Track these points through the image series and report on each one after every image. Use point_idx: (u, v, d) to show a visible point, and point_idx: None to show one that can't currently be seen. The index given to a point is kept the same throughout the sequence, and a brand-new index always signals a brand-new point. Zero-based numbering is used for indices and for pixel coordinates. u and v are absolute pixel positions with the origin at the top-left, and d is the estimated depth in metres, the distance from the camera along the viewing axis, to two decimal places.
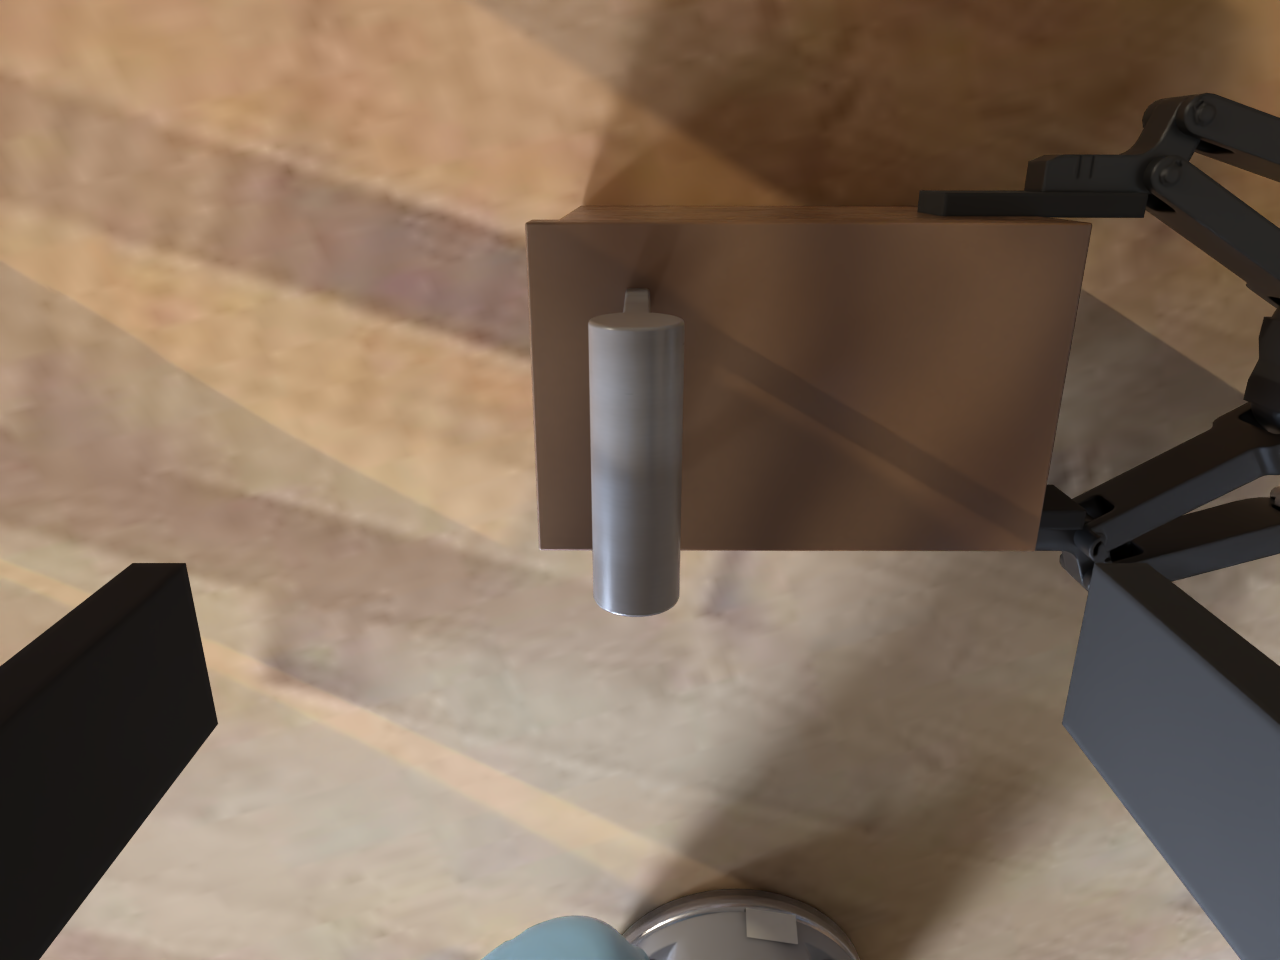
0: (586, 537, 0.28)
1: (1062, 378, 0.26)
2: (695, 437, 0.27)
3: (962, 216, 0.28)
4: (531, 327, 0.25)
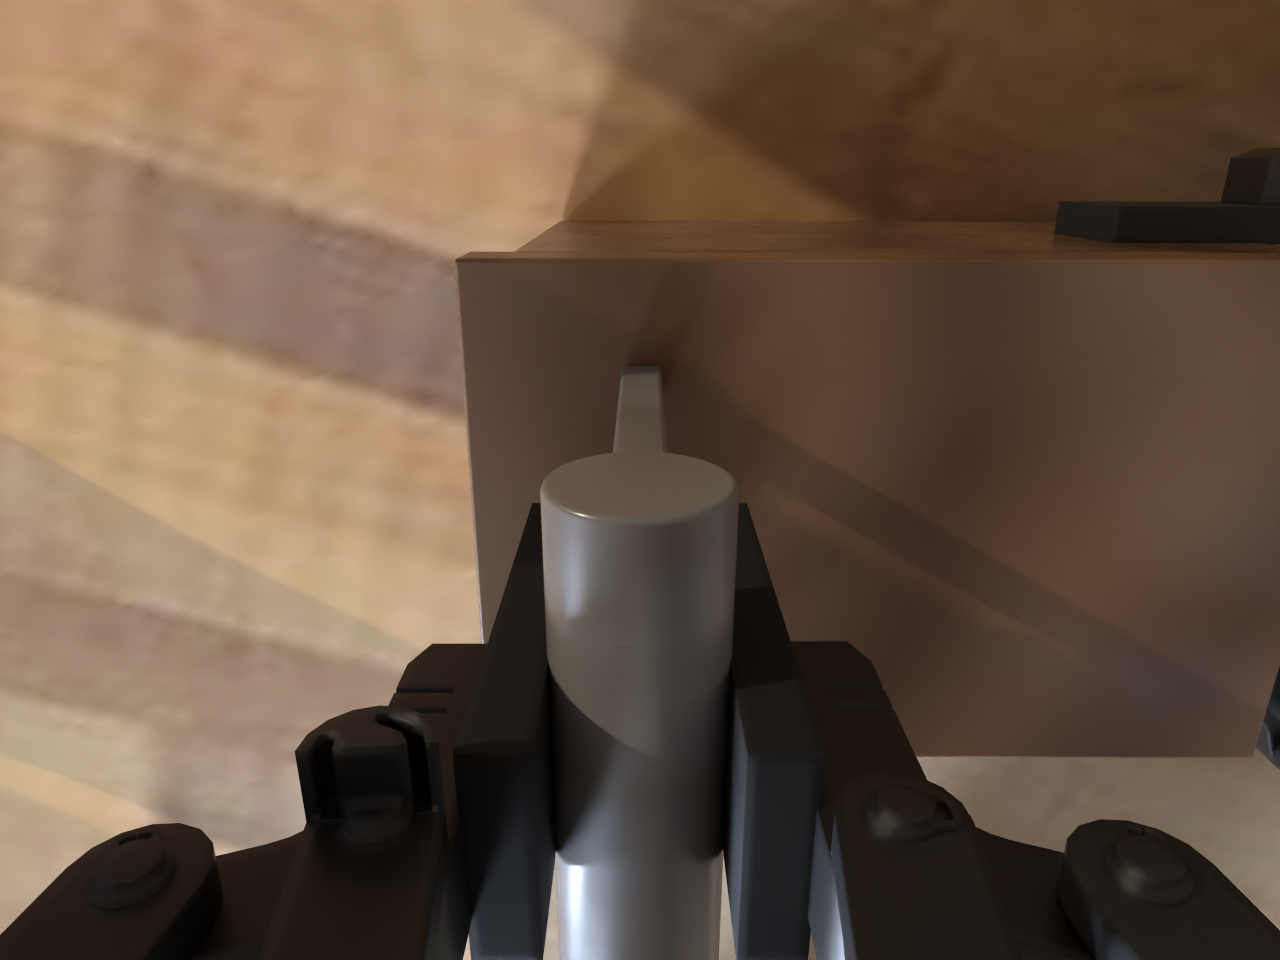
0: None
1: None
2: None
3: (1143, 243, 0.18)
4: (468, 426, 0.16)
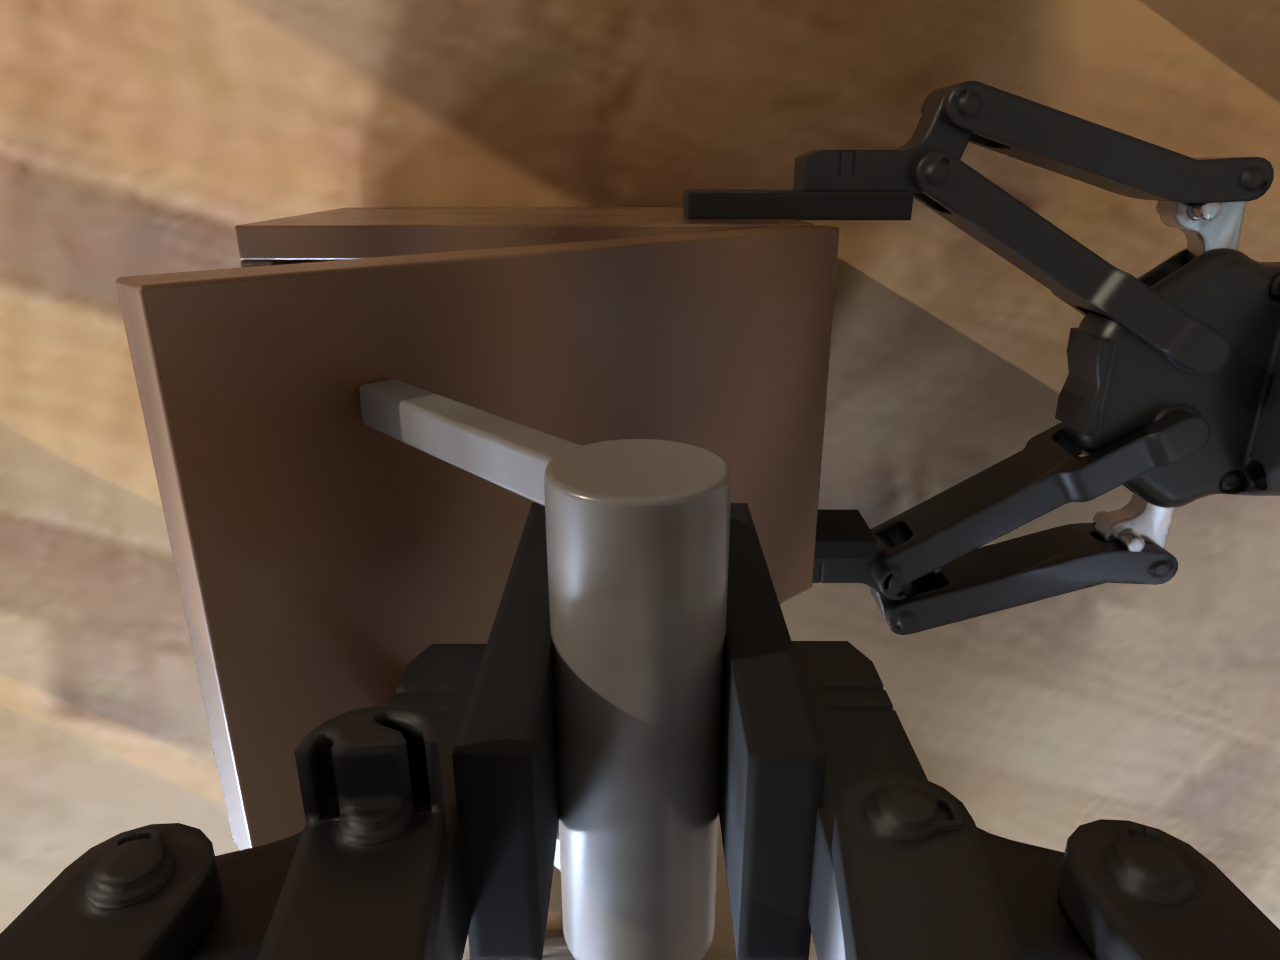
0: None
1: (825, 399, 0.23)
2: (485, 591, 0.17)
3: (712, 219, 0.25)
4: (185, 493, 0.13)
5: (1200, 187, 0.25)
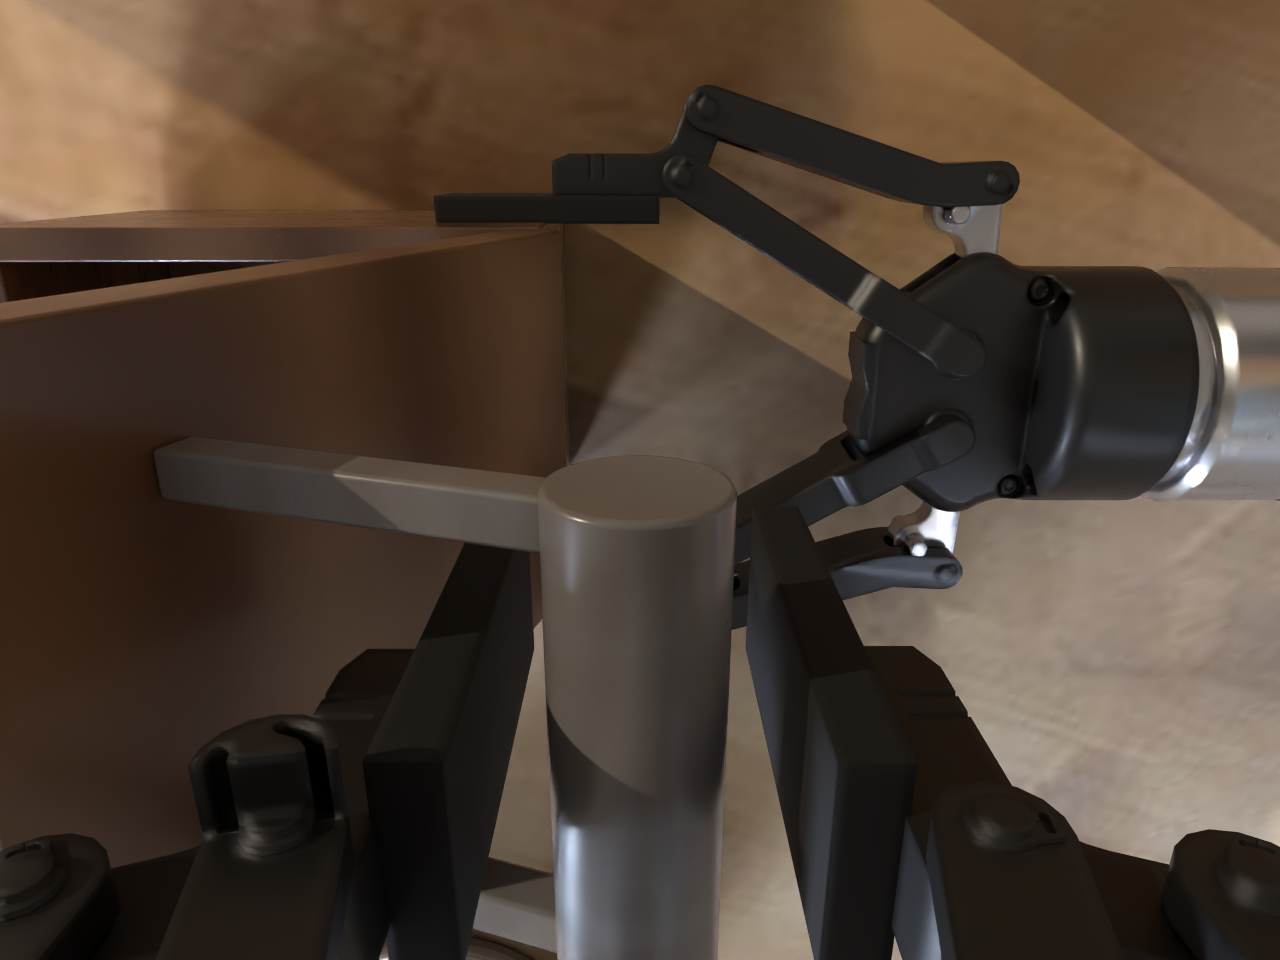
0: None
1: (564, 400, 0.23)
2: (307, 672, 0.14)
3: (459, 222, 0.25)
4: None
5: (947, 191, 0.25)
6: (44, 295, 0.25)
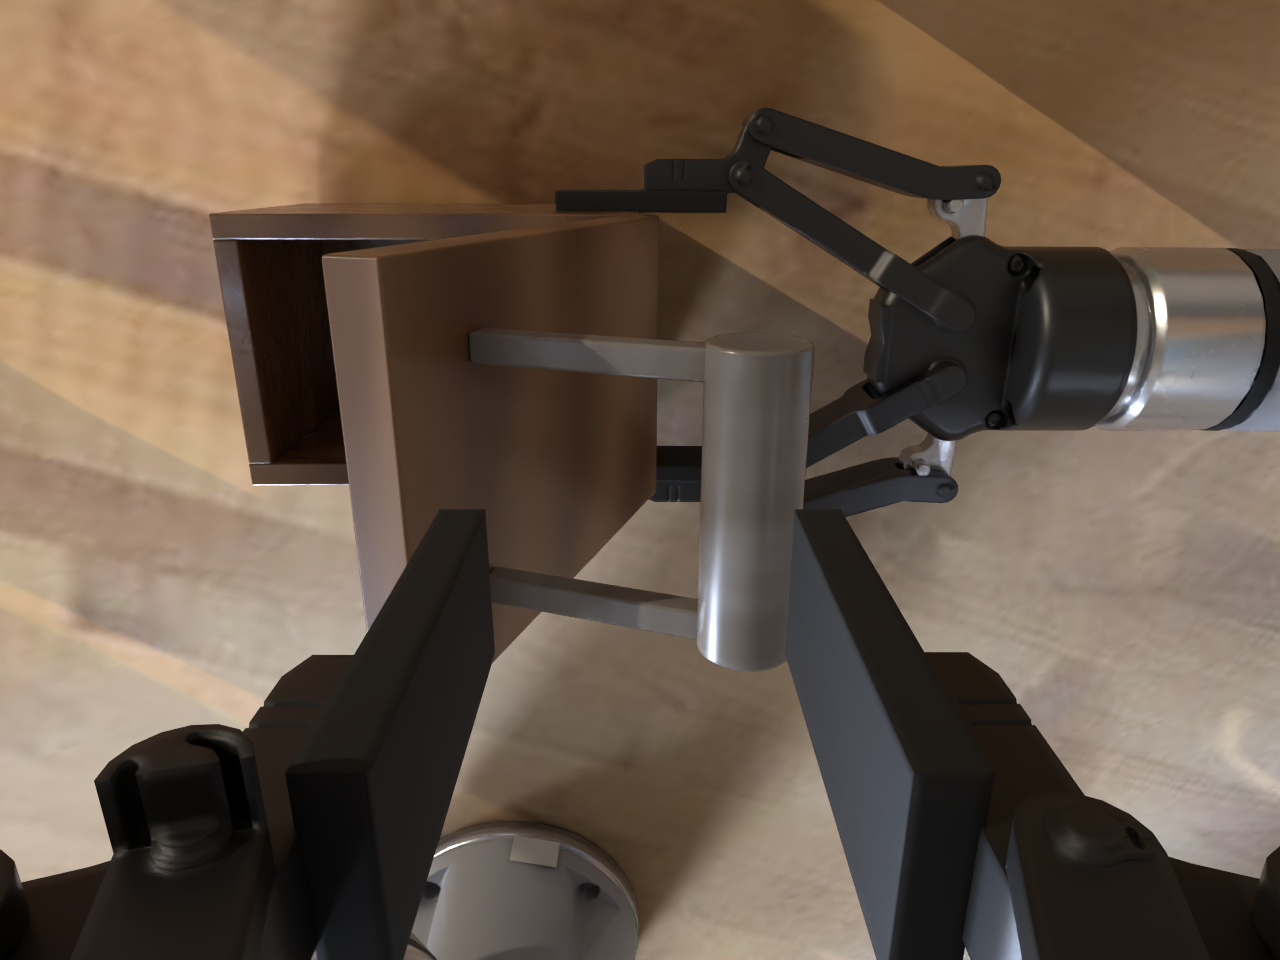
0: None
1: None
2: (520, 495, 0.22)
3: (574, 211, 0.33)
4: (396, 416, 0.17)
5: (946, 188, 0.32)
6: (258, 266, 0.33)
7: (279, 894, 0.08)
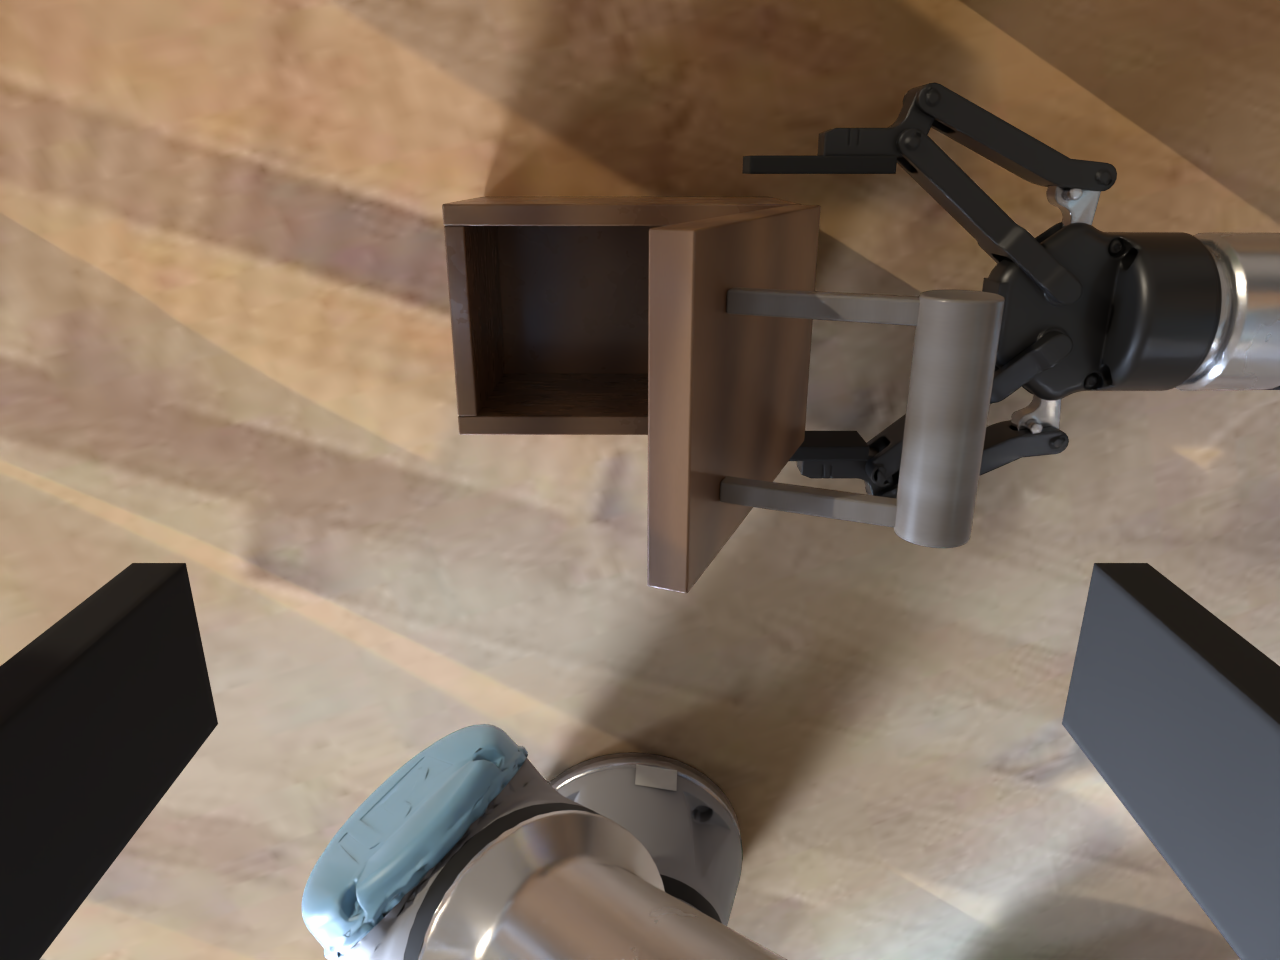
0: (704, 558, 0.26)
1: None
2: (739, 422, 0.28)
3: (738, 202, 0.38)
4: (693, 347, 0.23)
5: (1070, 177, 0.38)
6: (472, 248, 0.39)
7: None
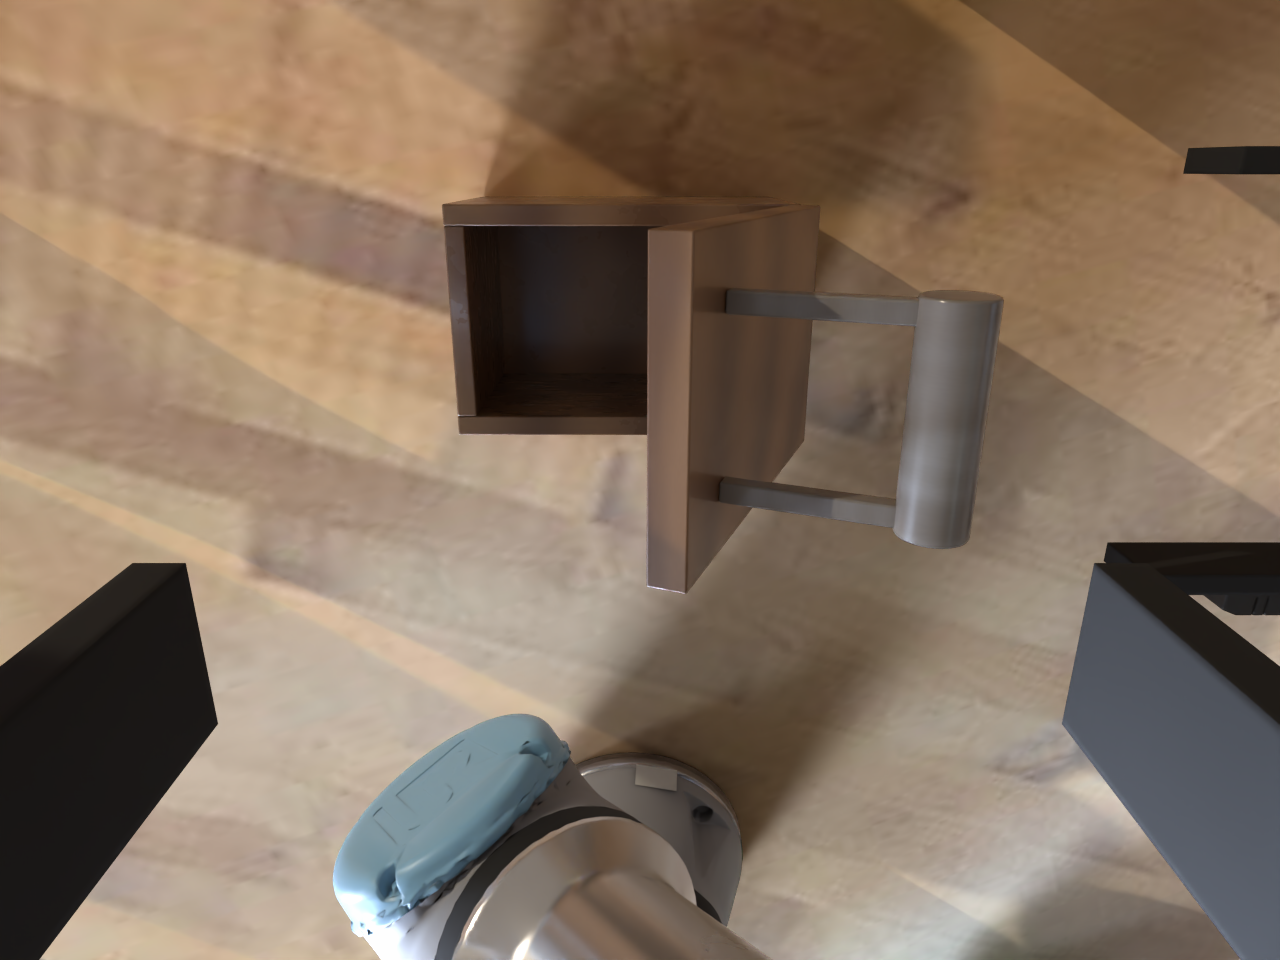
0: (703, 559, 0.26)
1: None
2: (739, 423, 0.28)
3: (738, 202, 0.38)
4: (693, 347, 0.23)
5: None
6: (472, 248, 0.39)
7: None
